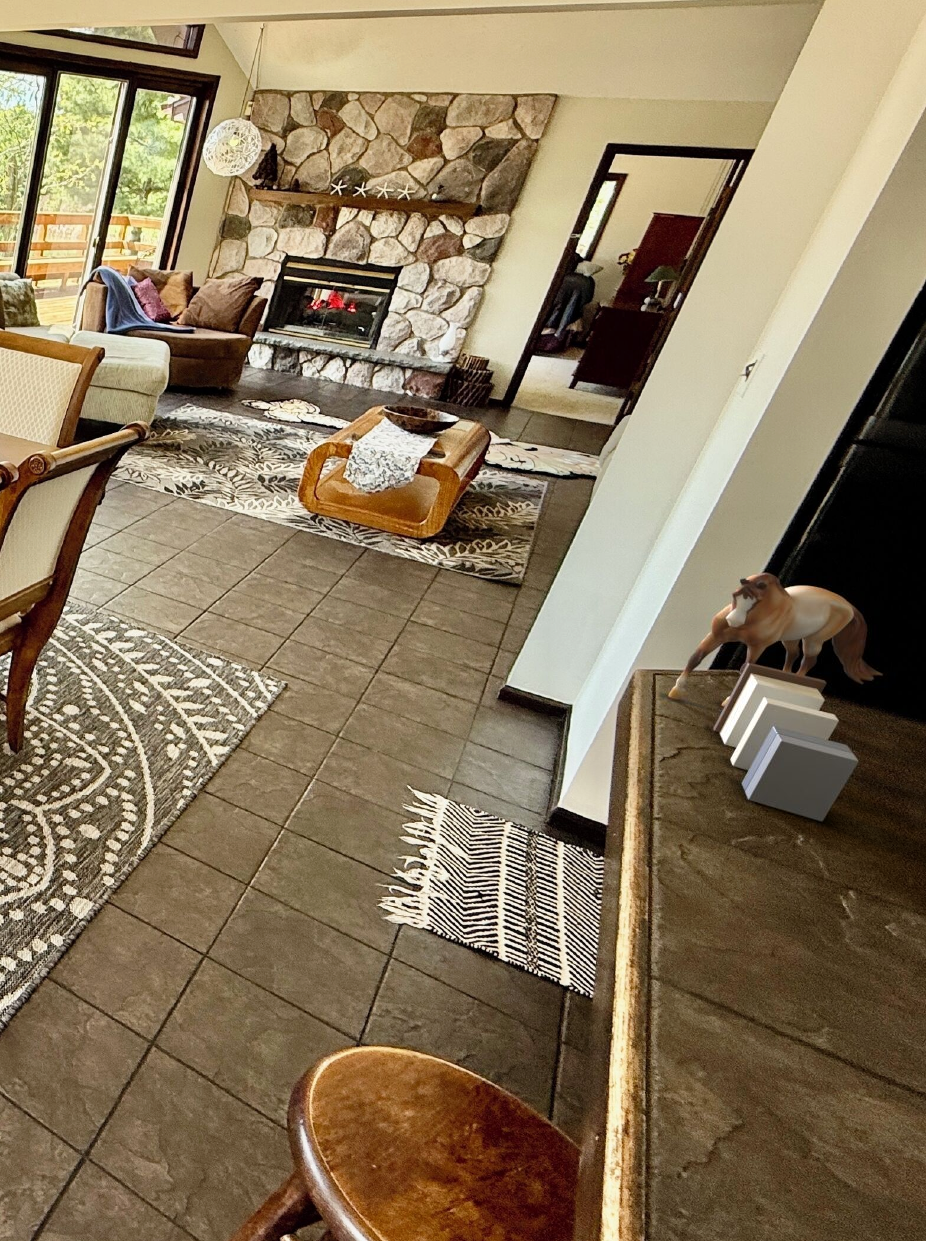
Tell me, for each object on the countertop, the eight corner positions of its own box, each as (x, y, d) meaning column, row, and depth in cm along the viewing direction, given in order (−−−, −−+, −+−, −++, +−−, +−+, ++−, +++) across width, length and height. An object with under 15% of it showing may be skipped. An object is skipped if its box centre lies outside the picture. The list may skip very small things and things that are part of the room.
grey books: (812, 804, 102) (847, 745, 99) (822, 821, 99) (859, 761, 96) (741, 783, 105) (772, 725, 102) (748, 800, 102) (781, 740, 99)
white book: (797, 778, 107) (834, 714, 104) (801, 785, 106) (839, 720, 102) (729, 759, 111) (763, 696, 107) (732, 766, 109) (767, 702, 106)
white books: (786, 748, 114) (824, 680, 110) (795, 764, 111) (835, 694, 107) (712, 728, 118) (747, 662, 114) (719, 743, 114) (755, 675, 111)
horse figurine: (690, 718, 120) (761, 579, 113) (631, 691, 127) (694, 558, 120) (863, 710, 126) (942, 577, 118) (797, 684, 133) (868, 557, 125)
